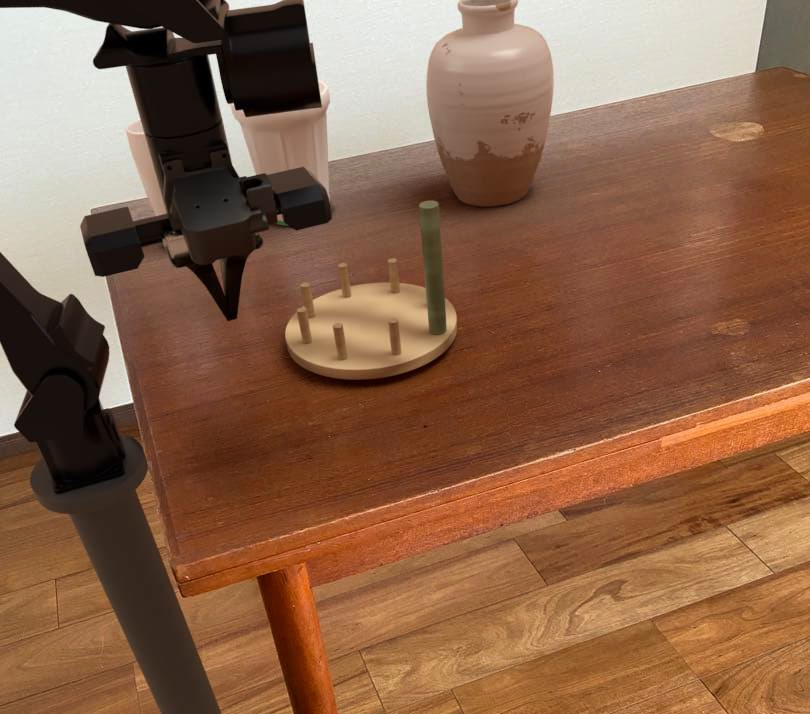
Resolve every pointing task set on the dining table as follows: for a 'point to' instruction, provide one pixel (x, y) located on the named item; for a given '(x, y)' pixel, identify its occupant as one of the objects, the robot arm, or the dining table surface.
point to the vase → (490, 103)
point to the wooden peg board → (377, 319)
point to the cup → (289, 140)
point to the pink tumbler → (145, 166)
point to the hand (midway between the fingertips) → (231, 318)
